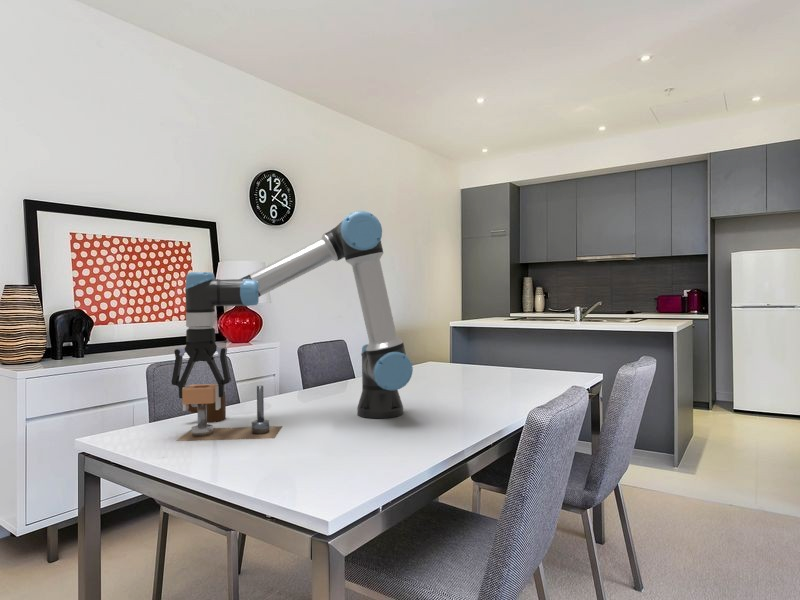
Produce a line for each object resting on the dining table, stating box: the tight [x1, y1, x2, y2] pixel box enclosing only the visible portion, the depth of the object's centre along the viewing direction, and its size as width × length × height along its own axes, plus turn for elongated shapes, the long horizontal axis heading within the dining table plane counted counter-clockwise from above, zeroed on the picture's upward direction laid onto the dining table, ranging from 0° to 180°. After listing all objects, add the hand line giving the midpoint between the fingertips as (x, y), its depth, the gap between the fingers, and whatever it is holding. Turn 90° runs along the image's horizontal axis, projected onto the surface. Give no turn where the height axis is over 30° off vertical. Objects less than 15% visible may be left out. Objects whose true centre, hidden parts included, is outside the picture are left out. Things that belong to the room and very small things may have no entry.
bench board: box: [175, 425, 283, 442], centre depth 145 cm, size 26×13×1 cm, turn 93°
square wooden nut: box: [181, 383, 218, 405], centre depth 145 cm, size 8×8×4 cm
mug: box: [187, 391, 227, 424], centre depth 160 cm, size 12×8×9 cm, turn 130°
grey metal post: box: [191, 404, 214, 437], centre depth 145 cm, size 6×6×9 cm
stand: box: [251, 385, 271, 435], centre depth 146 cm, size 5×5×13 cm
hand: (202, 409), depth 145 cm, fingers closed on square wooden nut, 8 cm apart
